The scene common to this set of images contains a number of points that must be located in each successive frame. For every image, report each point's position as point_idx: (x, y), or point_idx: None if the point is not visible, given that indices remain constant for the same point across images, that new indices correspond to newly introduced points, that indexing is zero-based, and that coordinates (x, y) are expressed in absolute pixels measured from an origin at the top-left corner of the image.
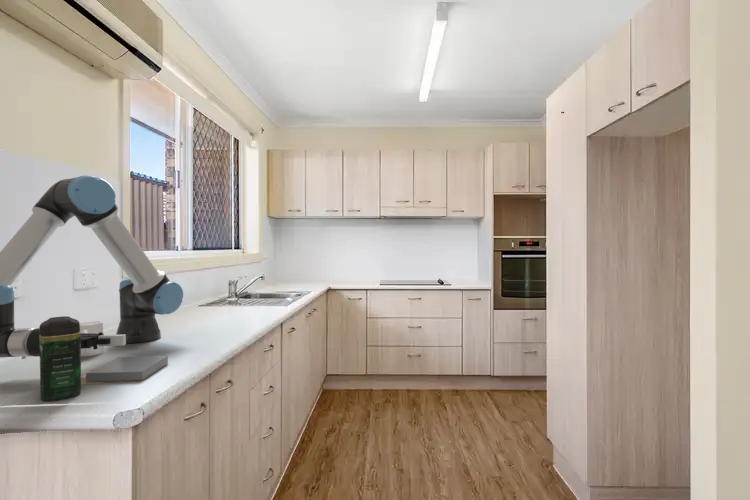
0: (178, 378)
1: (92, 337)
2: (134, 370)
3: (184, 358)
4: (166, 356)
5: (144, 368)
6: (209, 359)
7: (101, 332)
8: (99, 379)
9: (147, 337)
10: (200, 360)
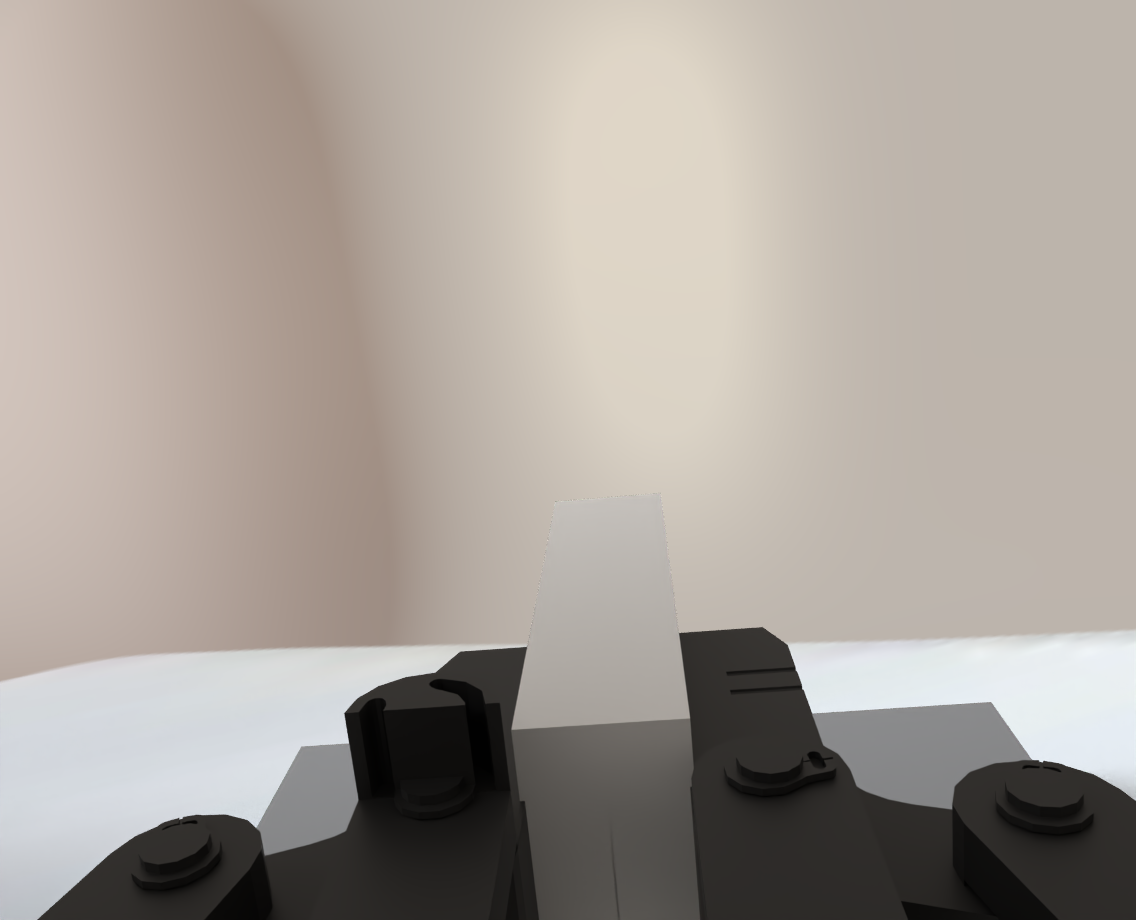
0: (821, 666)
1: (811, 800)
2: (970, 764)
3: (52, 823)
4: (327, 747)
5: (871, 725)
6: (238, 677)
7: (413, 687)
8: None
9: None
10: (239, 709)
